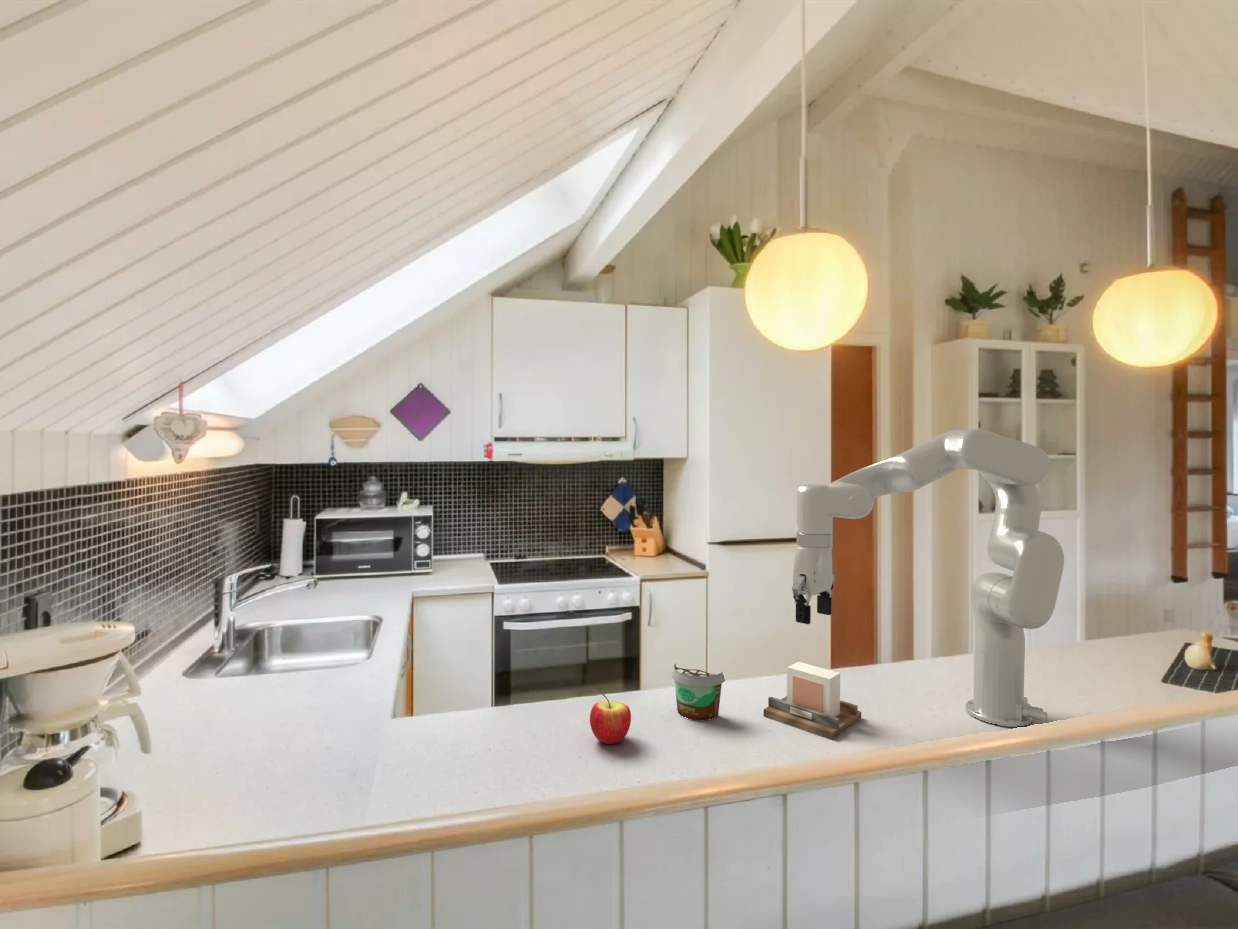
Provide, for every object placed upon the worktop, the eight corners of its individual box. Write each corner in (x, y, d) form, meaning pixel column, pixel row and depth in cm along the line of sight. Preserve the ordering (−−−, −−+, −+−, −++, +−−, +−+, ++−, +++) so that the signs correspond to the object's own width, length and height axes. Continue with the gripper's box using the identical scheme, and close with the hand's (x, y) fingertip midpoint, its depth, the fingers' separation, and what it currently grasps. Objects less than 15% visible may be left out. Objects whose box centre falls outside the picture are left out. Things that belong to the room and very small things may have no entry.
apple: (584, 735, 129) (584, 687, 128) (622, 728, 132) (622, 682, 131) (597, 753, 121) (597, 703, 121) (637, 746, 124) (637, 696, 124)
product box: (797, 700, 143) (798, 661, 142) (839, 713, 136) (840, 672, 135) (786, 707, 139) (786, 667, 139) (828, 721, 132) (829, 679, 132)
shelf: (861, 718, 137) (861, 702, 137) (832, 740, 127) (832, 723, 127) (794, 697, 148) (795, 683, 148) (763, 716, 138) (763, 700, 138)
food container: (662, 715, 138) (662, 671, 138) (673, 705, 143) (673, 662, 143) (715, 727, 132) (715, 681, 132) (724, 716, 138) (725, 672, 137)
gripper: (816, 535, 145) (816, 607, 146) (778, 543, 133) (778, 623, 133) (848, 538, 140) (847, 613, 140) (811, 547, 127) (810, 630, 128)
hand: (813, 618), depth 137 cm, fingers open, 9 cm apart
